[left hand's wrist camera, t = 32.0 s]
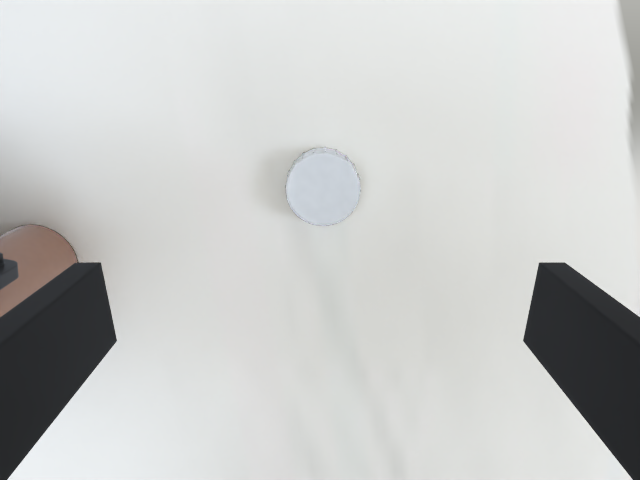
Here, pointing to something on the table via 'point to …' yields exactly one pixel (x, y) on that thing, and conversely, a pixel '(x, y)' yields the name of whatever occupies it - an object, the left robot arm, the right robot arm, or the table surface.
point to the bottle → (32, 261)
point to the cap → (323, 187)
